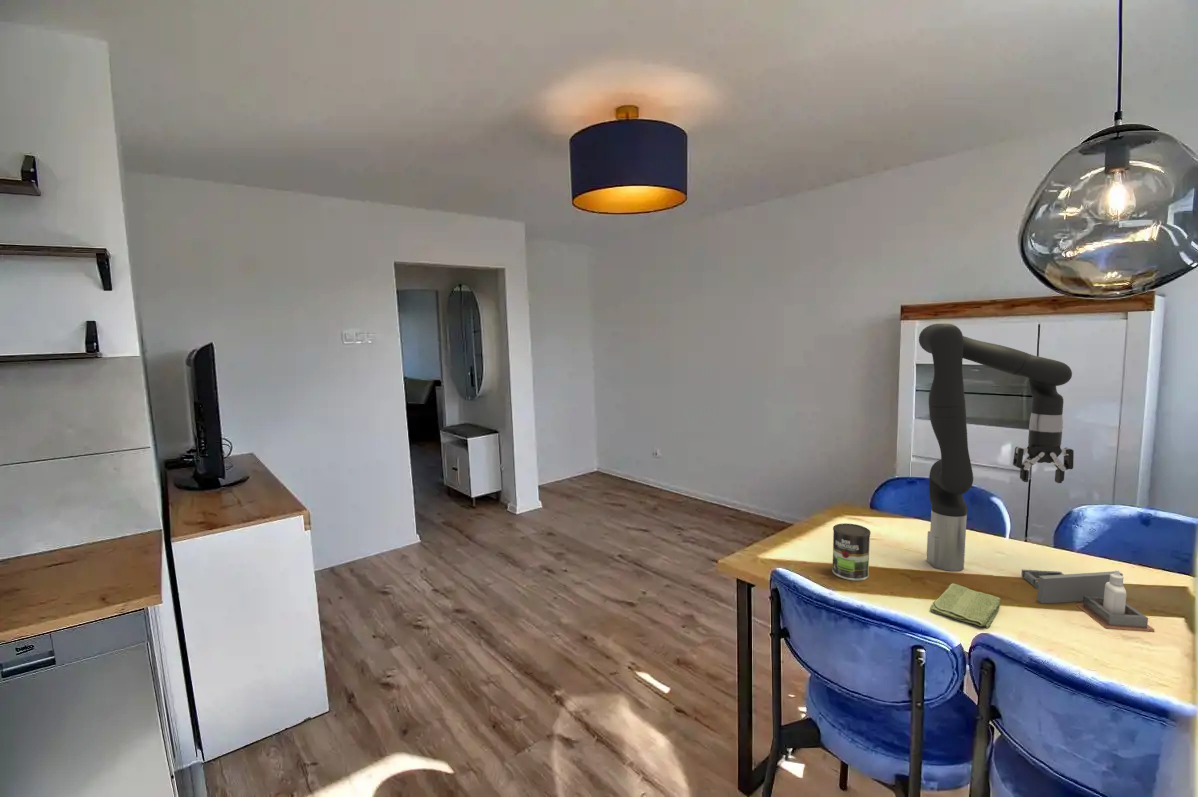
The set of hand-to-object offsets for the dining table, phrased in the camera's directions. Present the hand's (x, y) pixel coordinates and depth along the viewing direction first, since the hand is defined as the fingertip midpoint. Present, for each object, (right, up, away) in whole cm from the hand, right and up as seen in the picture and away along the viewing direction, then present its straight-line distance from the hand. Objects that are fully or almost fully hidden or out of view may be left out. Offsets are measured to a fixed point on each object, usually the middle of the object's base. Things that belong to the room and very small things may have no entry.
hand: (1041, 482), depth 160 cm
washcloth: (-34, -32, -17) cm, 50 cm away
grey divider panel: (-2, -29, -15) cm, 33 cm away
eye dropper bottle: (-2, -30, -24) cm, 39 cm away
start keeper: (-3, -28, -6) cm, 29 cm away
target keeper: (-2, -31, -24) cm, 39 cm away
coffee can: (-55, -29, +5) cm, 62 cm away
